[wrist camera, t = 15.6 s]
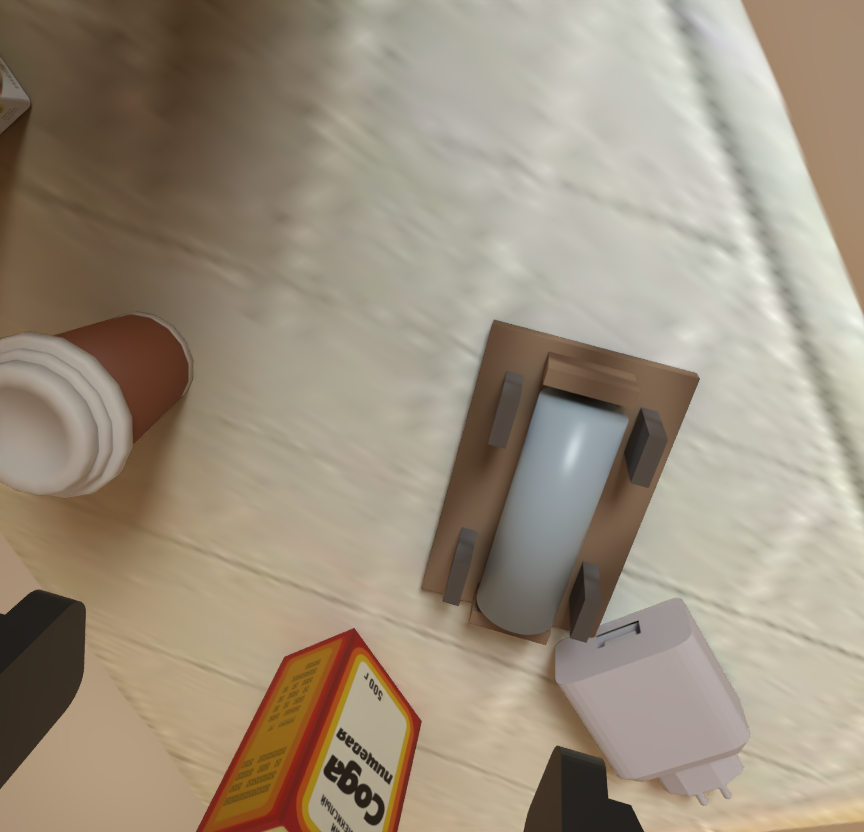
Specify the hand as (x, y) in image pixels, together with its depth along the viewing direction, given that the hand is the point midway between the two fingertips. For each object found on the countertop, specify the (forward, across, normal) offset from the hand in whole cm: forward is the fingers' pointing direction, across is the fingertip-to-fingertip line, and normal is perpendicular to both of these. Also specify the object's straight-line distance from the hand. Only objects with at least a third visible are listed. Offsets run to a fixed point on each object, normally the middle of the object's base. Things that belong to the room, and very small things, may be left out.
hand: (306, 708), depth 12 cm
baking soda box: (+32, +2, +32) cm, 46 cm away
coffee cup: (+32, +20, +10) cm, 39 cm away
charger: (+33, -19, +25) cm, 45 cm away
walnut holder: (+32, -7, +11) cm, 35 cm away
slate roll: (+31, -7, +11) cm, 34 cm away
